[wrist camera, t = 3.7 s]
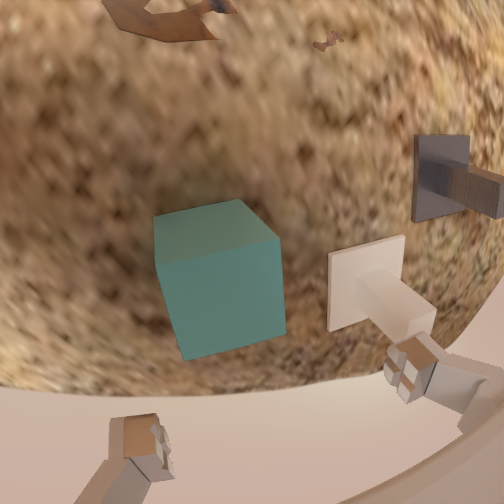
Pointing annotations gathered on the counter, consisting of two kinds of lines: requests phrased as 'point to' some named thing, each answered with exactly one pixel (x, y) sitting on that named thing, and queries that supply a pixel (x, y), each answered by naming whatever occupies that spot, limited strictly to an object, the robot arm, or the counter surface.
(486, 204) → the post
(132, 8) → the banana
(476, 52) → the counter surface
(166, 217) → the teal rectangular block
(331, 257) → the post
